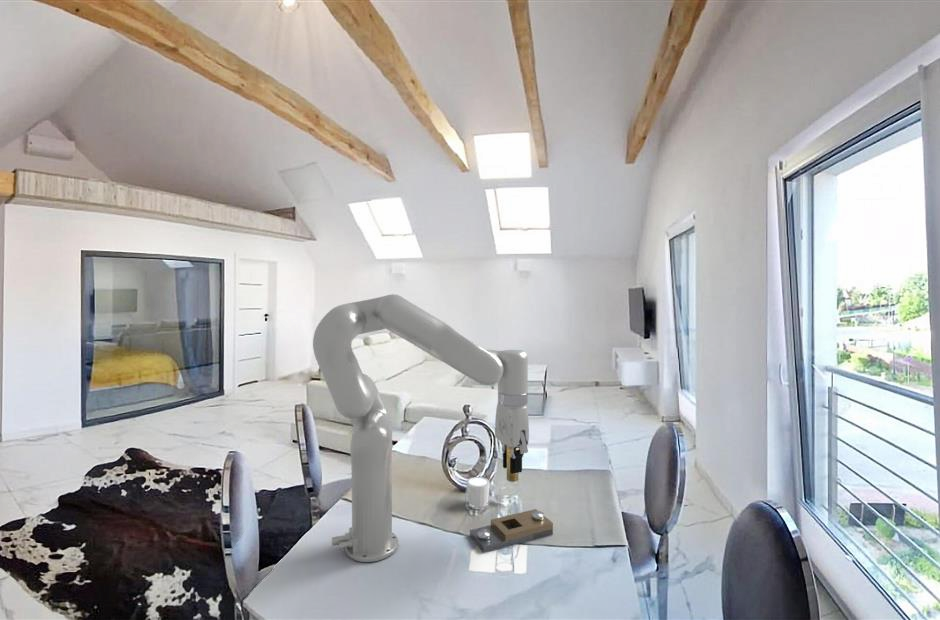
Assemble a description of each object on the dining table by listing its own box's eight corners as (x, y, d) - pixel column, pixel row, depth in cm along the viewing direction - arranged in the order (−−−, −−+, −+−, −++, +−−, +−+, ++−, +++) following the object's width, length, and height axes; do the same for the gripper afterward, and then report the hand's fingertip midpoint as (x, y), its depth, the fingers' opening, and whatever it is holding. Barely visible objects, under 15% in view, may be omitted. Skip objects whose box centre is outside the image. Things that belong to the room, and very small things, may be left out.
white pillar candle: (487, 511, 127) (487, 487, 126) (463, 509, 128) (464, 485, 128) (491, 500, 133) (491, 477, 133) (468, 498, 135) (469, 475, 134)
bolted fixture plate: (483, 552, 107) (483, 536, 107) (469, 535, 114) (469, 520, 114) (552, 534, 115) (553, 519, 115) (535, 519, 123) (536, 505, 122)
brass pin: (510, 482, 112) (510, 443, 111) (504, 478, 115) (504, 439, 114) (520, 480, 113) (520, 441, 113) (514, 475, 116) (514, 438, 115)
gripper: (485, 393, 119) (485, 460, 120) (516, 408, 104) (515, 485, 105) (509, 390, 122) (509, 456, 123) (543, 405, 107) (542, 479, 108)
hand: (512, 469), depth 114 cm, fingers closed on brass pin, 3 cm apart
